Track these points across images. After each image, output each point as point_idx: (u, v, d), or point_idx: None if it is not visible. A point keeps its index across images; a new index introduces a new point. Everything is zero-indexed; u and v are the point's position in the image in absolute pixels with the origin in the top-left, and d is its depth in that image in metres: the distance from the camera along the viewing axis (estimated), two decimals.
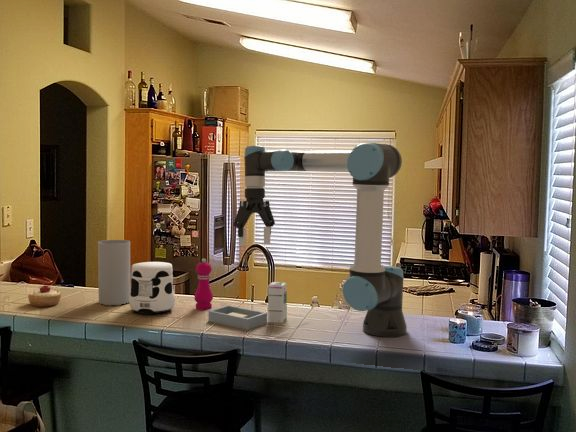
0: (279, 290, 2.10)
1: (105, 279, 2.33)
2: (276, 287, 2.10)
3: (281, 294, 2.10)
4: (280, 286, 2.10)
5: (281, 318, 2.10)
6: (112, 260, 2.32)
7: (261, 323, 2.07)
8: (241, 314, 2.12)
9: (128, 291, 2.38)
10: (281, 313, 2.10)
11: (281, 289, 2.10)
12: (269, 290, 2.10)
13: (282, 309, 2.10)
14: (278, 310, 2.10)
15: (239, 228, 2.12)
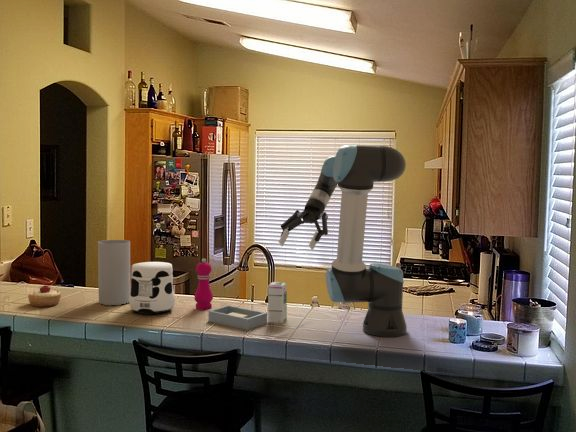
0: (279, 290, 2.10)
1: (105, 279, 2.33)
2: (276, 287, 2.10)
3: (281, 294, 2.10)
4: (280, 286, 2.10)
5: (281, 318, 2.10)
6: (112, 260, 2.32)
7: (261, 323, 2.07)
8: (241, 314, 2.12)
9: (128, 291, 2.38)
10: (281, 313, 2.10)
11: (281, 289, 2.10)
12: (269, 290, 2.10)
13: (282, 309, 2.10)
14: (278, 310, 2.10)
15: None
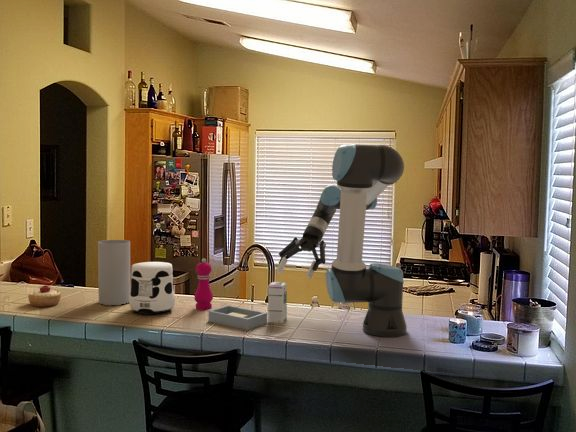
0: (279, 290, 2.10)
1: (105, 279, 2.33)
2: (276, 287, 2.10)
3: (281, 294, 2.10)
4: (280, 286, 2.10)
5: (281, 318, 2.10)
6: (112, 260, 2.32)
7: (261, 323, 2.07)
8: (241, 314, 2.12)
9: (128, 291, 2.38)
10: (281, 313, 2.10)
11: (281, 289, 2.10)
12: (269, 290, 2.10)
13: (282, 309, 2.10)
14: (278, 310, 2.10)
15: None
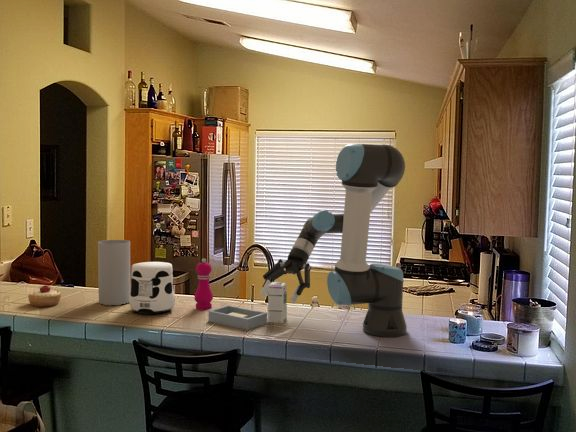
0: (279, 290, 2.10)
1: (105, 279, 2.33)
2: (276, 287, 2.10)
3: (281, 294, 2.10)
4: (280, 286, 2.10)
5: (281, 318, 2.10)
6: (112, 260, 2.32)
7: (261, 323, 2.07)
8: (241, 314, 2.12)
9: (128, 291, 2.38)
10: (281, 313, 2.10)
11: (281, 289, 2.10)
12: (269, 290, 2.10)
13: (282, 309, 2.10)
14: (278, 310, 2.10)
15: None
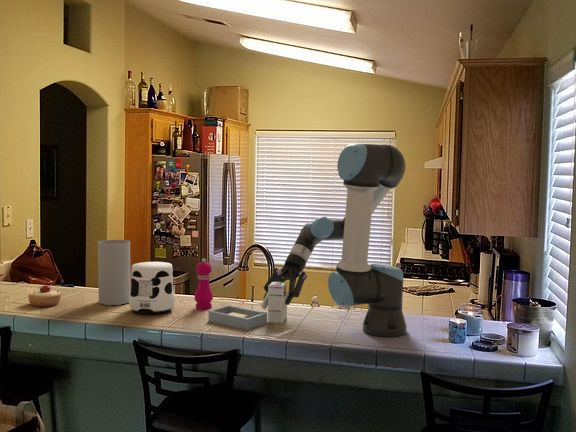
0: (279, 290, 2.10)
1: (105, 279, 2.33)
2: (276, 287, 2.10)
3: (281, 294, 2.10)
4: (280, 286, 2.10)
5: (281, 318, 2.10)
6: (112, 260, 2.32)
7: (261, 323, 2.07)
8: (241, 314, 2.12)
9: (128, 291, 2.38)
10: (281, 313, 2.10)
11: (281, 289, 2.10)
12: (269, 290, 2.10)
13: None
14: (278, 310, 2.10)
15: None
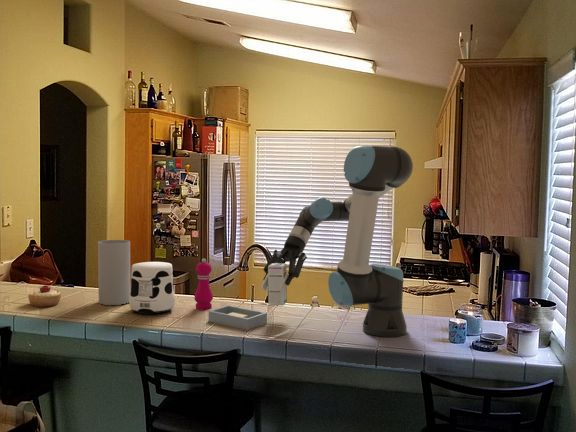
0: (279, 270, 2.09)
1: (105, 279, 2.33)
2: (276, 267, 2.10)
3: (281, 274, 2.09)
4: (280, 266, 2.09)
5: (281, 299, 2.10)
6: (112, 260, 2.32)
7: (261, 323, 2.07)
8: (241, 314, 2.12)
9: (128, 291, 2.38)
10: (281, 294, 2.10)
11: (281, 269, 2.09)
12: (269, 270, 2.10)
13: None
14: (278, 291, 2.10)
15: None
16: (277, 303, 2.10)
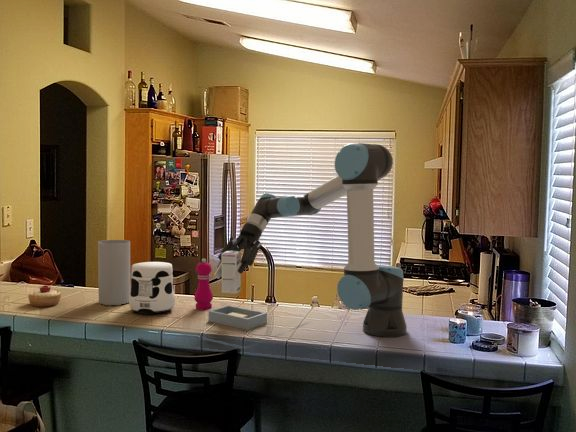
0: (232, 258, 2.07)
1: (105, 279, 2.33)
2: (229, 255, 2.08)
3: (234, 262, 2.07)
4: (233, 254, 2.07)
5: (235, 287, 2.08)
6: (112, 260, 2.32)
7: (261, 323, 2.07)
8: (241, 314, 2.12)
9: (128, 291, 2.38)
10: None
11: (234, 257, 2.07)
12: (222, 258, 2.08)
13: None
14: (231, 278, 2.08)
15: None
16: (230, 291, 2.09)
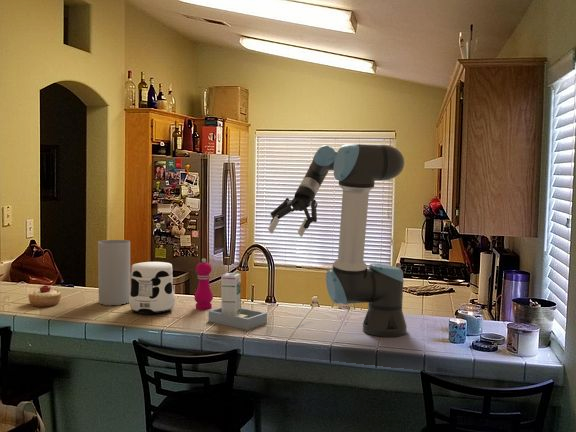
0: (232, 281, 2.08)
1: (105, 279, 2.33)
2: (229, 278, 2.08)
3: (234, 285, 2.08)
4: (233, 277, 2.08)
5: (234, 309, 2.09)
6: (112, 260, 2.32)
7: (261, 323, 2.07)
8: (241, 314, 2.11)
9: (128, 291, 2.38)
10: (234, 304, 2.09)
11: (234, 280, 2.08)
12: (222, 280, 2.09)
13: (235, 300, 2.09)
14: (231, 301, 2.09)
15: None
16: (230, 313, 2.09)
